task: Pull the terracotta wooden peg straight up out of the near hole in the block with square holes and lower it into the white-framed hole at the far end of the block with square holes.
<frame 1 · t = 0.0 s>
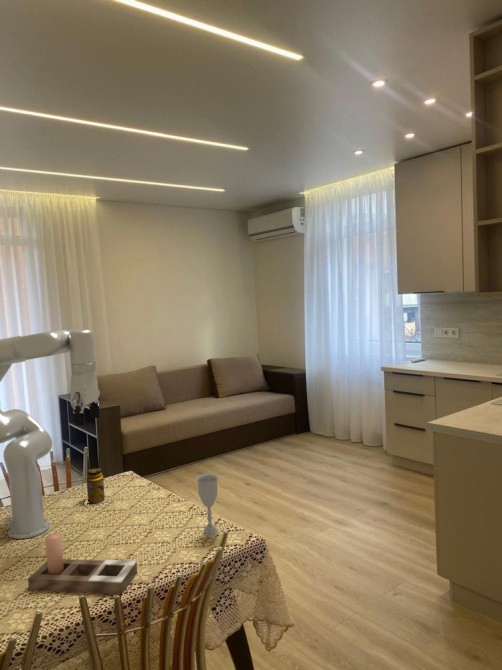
hand: (87, 421, 158), 37 cm above the table, tool pointing down, fingers open, 9 cm apart
block with square holes: (84, 580, 133), on the table
condiment: (94, 502, 187), on the table
chalice: (210, 533, 156), on the table
peg: (56, 579, 134), resting in block with square holes
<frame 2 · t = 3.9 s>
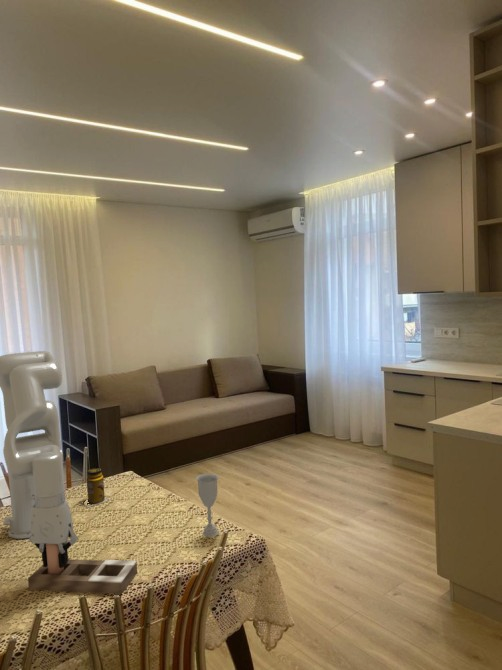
hand: (55, 564, 134), 4 cm above the table, tool pointing down, fingers closed on peg, 4 cm apart
peg: (56, 579, 134), resting in block with square holes, touching gripper
everything else where it was.
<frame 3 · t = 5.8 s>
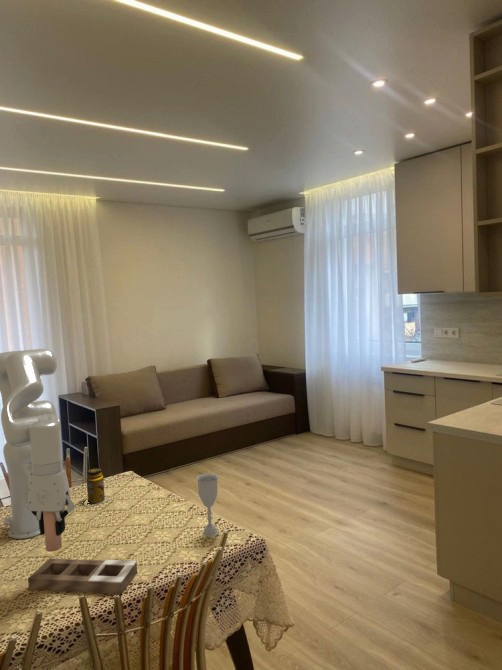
hand: (52, 532, 133), 13 cm above the table, tool pointing down, fingers closed on peg, 4 cm apart
peg: (53, 547, 134), point 9 cm above the table, touching gripper
everything else where it was.
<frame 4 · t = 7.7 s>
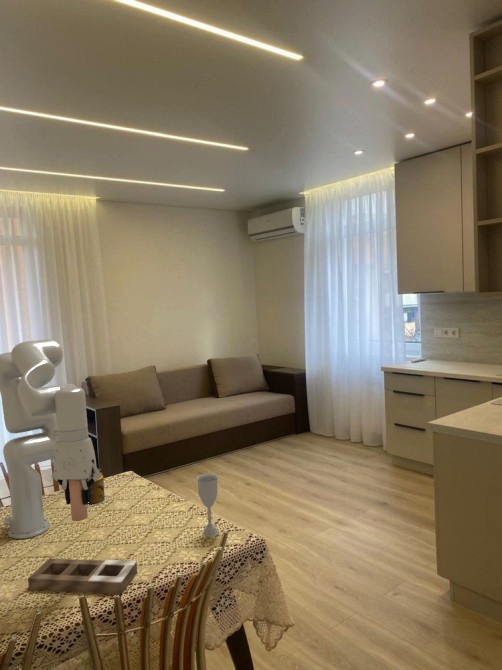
hand: (78, 501, 131), 22 cm above the table, tool pointing down, fingers closed on peg, 4 cm apart
peg: (79, 517, 131), point 18 cm above the table, touching gripper
everything else where it was.
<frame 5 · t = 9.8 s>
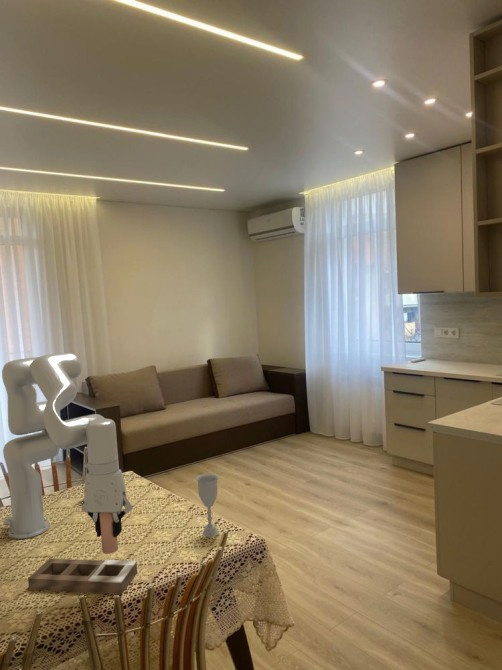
hand: (109, 534, 130), 13 cm above the table, tool pointing down, fingers closed on peg, 4 cm apart
peg: (110, 549, 131), point 9 cm above the table, touching gripper
everything else where it was.
when the fingers open (6 cm above the table, at t = 11.4 s): peg drops 2 cm, resting in block with square holes.
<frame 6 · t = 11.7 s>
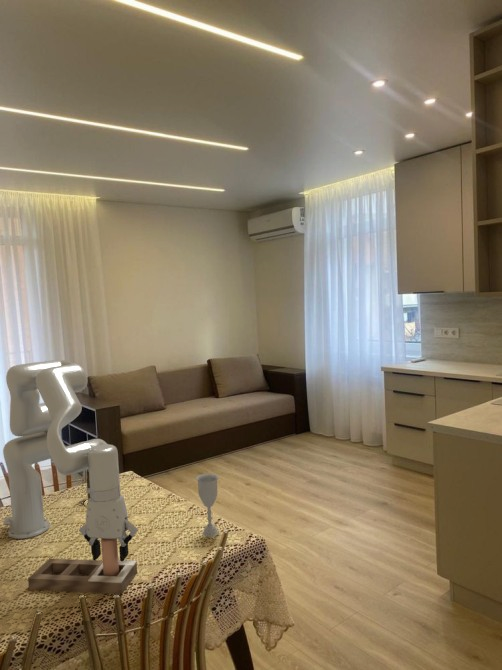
hand: (110, 557, 131), 7 cm above the table, tool pointing down, fingers open, 7 cm apart
peg: (112, 582, 131), resting in block with square holes
everything else where it was.
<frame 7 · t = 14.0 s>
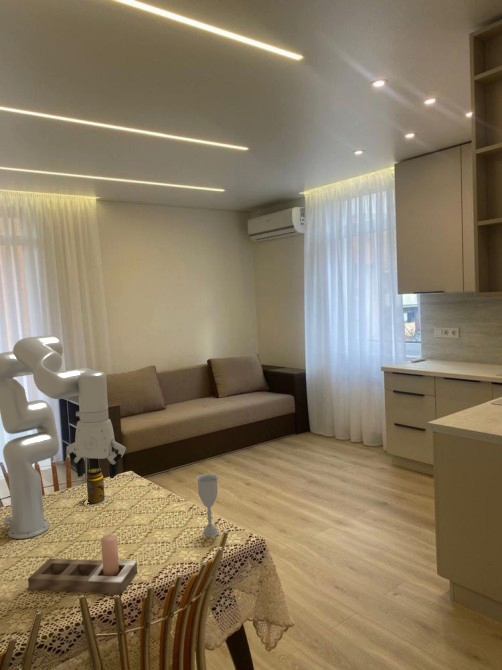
hand: (97, 475, 139), 26 cm above the table, tool pointing down, fingers open, 9 cm apart
nothing on the table moved.
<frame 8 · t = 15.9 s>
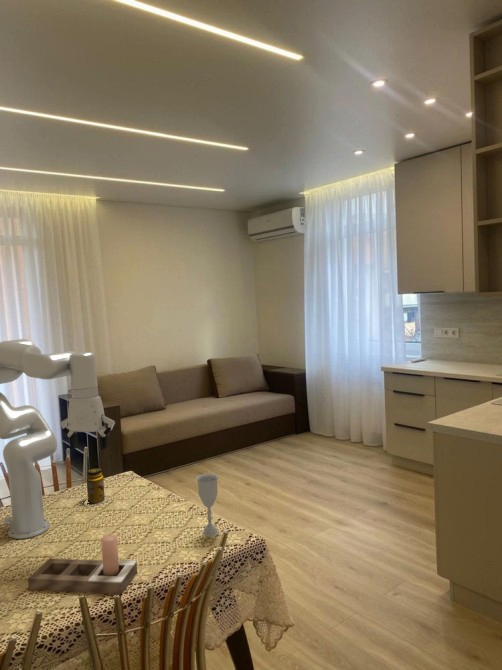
hand: (89, 448, 150), 30 cm above the table, tool pointing down, fingers open, 9 cm apart
nothing on the table moved.
at the end: peg 0.0 cm from the target spot on the block with square holes, point 0.0 cm above the block with square holes's base; peg tilted 0°; the gripper is holding nothing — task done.
